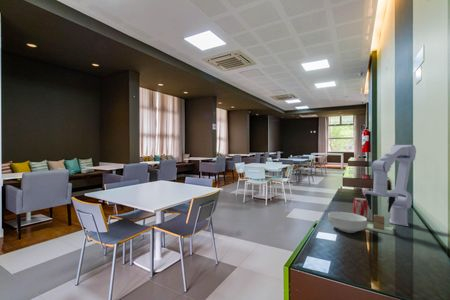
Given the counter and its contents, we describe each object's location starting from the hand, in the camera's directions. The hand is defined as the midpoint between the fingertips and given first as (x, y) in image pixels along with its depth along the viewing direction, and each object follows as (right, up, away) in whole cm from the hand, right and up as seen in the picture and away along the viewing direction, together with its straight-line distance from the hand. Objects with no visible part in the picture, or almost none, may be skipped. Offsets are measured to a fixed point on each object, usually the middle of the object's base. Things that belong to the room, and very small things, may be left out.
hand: (379, 210), depth 112 cm
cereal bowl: (-19, -9, -3) cm, 21 cm away
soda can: (-1, -10, +15) cm, 18 cm away
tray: (0, -9, 0) cm, 9 cm away
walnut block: (-1, -9, 0) cm, 9 cm away
